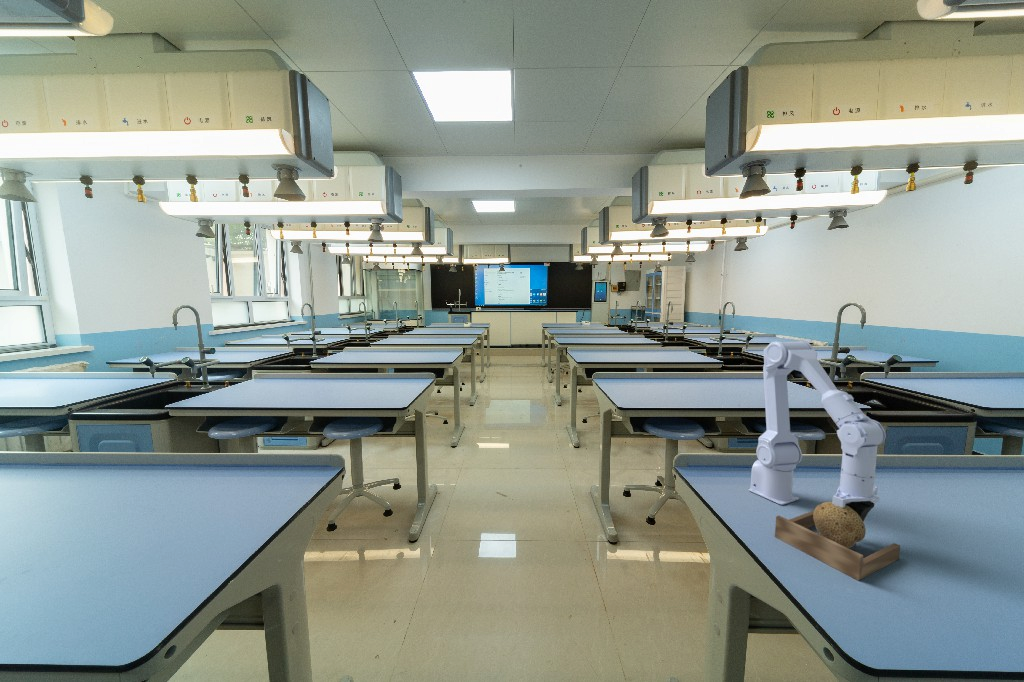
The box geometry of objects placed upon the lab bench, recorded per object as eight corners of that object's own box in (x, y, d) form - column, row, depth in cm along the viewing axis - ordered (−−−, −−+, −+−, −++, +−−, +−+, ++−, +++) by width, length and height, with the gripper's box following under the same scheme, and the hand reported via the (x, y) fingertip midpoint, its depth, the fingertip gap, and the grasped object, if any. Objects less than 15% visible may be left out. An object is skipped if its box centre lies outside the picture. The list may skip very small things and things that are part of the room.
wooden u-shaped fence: (774, 536, 91) (776, 516, 91) (815, 521, 98) (816, 502, 97) (858, 580, 77) (860, 556, 76) (898, 558, 83) (901, 536, 83)
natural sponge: (835, 532, 93) (838, 492, 92) (875, 556, 84) (879, 512, 83) (801, 536, 91) (804, 495, 90) (839, 561, 83) (842, 516, 82)
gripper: (862, 486, 82) (856, 547, 83) (896, 473, 88) (890, 531, 89) (823, 473, 88) (819, 530, 90) (858, 462, 94) (853, 515, 96)
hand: (852, 529), depth 90 cm, fingers closed
